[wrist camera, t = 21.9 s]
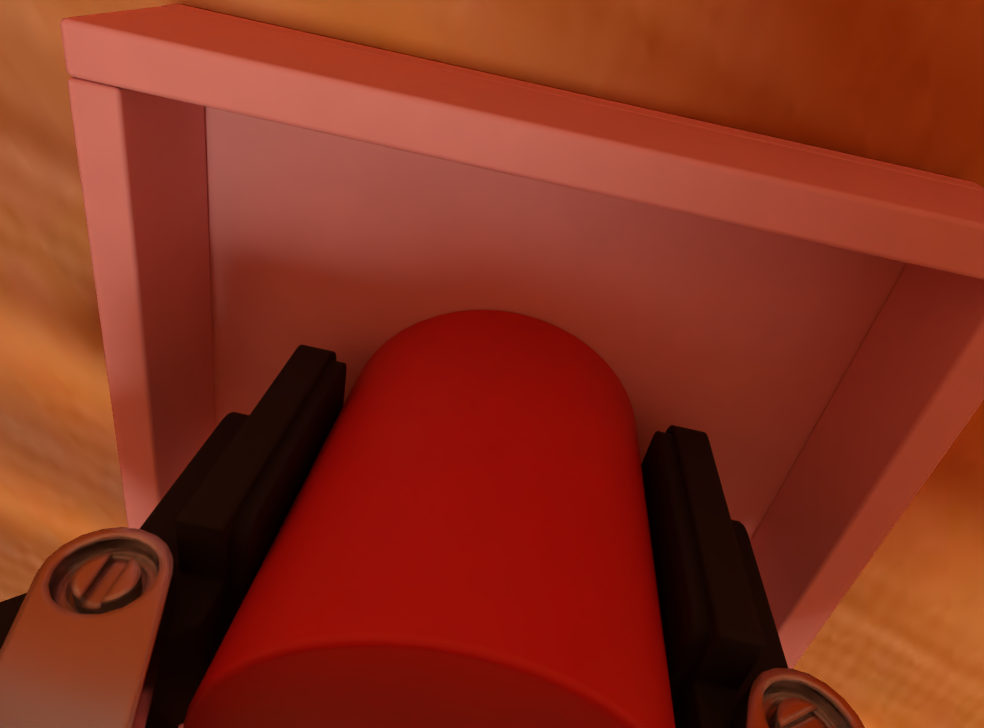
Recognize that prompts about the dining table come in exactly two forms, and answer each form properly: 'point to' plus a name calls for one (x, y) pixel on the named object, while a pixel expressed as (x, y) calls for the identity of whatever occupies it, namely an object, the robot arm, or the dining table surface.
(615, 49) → the dining table surface
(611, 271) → the pink tray
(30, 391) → the dining table surface
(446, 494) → the tabbed red cylinder
